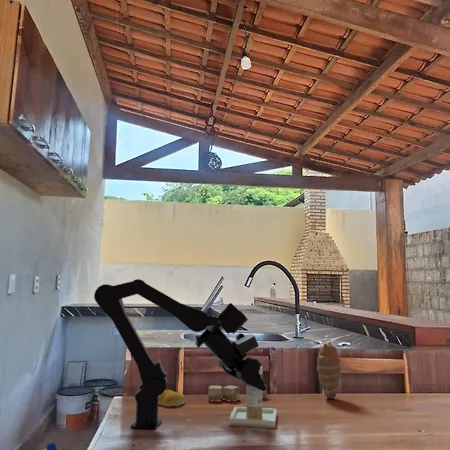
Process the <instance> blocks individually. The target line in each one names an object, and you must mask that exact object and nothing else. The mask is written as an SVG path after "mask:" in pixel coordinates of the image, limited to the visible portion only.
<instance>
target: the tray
mask: <svg viewBox="0 0 450 450" xmlns="http://www.w3.org/2000/svg"><path fill="white" fill-rule="evenodd" d="M277 414H278V413H277V408H271V407H270V408H269V407H262V416H263V417H262V419H248V418H247V417H246V415H247V406H234V408H233V410H232V412H231V414H230V416H229V419H228V426H236V427H238V426H239V427H254V428H267V429H268V428H270V429H271V428H272V429H276V427H277V426H276V425H277V417H278V416H277Z"/></svg>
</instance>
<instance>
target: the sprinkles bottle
mask: <svg viewBox="0 0 450 450" xmlns="http://www.w3.org/2000/svg"><path fill="white" fill-rule="evenodd" d="M263 370H264V369H263V366H261V368H260V369H259V374H260V376H261V378H262V379H263ZM245 386H246V387H245V390H246V391H245V392H246V394H245V399H246V400H245V401H246V403H245V404H246V407H247V415H246V417H247V418H248V419H262V417H263V416H262V408H263V398H262V390H260V389H258V388H255V387H253V386H251V385H249V384H246V385H245Z"/></svg>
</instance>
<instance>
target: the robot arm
mask: <svg viewBox="0 0 450 450" xmlns="http://www.w3.org/2000/svg"><path fill="white" fill-rule="evenodd" d="M137 295H138V296H140V297H142V298H143V299H145V300H147V301H148V302H151V303H152V304H154V305H156V306H157V307H159V308H161V309H162V310H165V311H167V312H168V313H169V314H172V315H173V316H175V318H176V319H178V320H179V321H180V322H181V323H182V324H183V325H185V326H186V327H187V328H188V329H189V330H190V331H192V332H194V333H201V332H202V333H201V334H200V335H197V334H196V335H195V343H194V344H195V345H196V347H197V348H200V347H201V346H202V345H203V344H204V345H205V347H206V348H207V349H209V351H210V352H211V353H212V354H213V356H214V357H215V359H217V360H219V361H218V367H219V368H220V369H221V371H223V372H225V373H226V374H228V375H229V376H232V377H235V378H237V379H238V380H241V382H242V383H244V384H246V385H247V384H249V385H251V386H253V387H255V388H258V389H260V390H262V391H265V390H266V389H267V388H268V387H267V388H266V386H265V385H266V384H265V382H264V380H263V377H262V378H261V376H260V374H259V369H260V368H261V367H262V363H261V362H260V361H259V360H258V359H257V358H255V357H252V356H248V354H247V353H248V352H250V351H251V350H254V349H256V348H259V343H258V340H257V338H256V336H255V335H254V334H250V333H249V334H243V333H242V332H239V333H238V334H236V333H237V331H239V330H240V329H241V327H243V326H244V324H246V323H247V321H248V318H247V316H246V315H245V314H244V313H243V312H242V311H241V310H239V309H238V308H237V307H236V306H235V305H234V304H233V303H231V302H230V303H228V304H227V305H226V306H225V308H224V309H223V310H222V311H221V312H220V313H219V314H217V316H215V315H214V314H213V315H209V314H206V312H204V310H201V309H199V308H196V307H193V306H190V305H187V304H184V303H182V302H179V301H178V300H176V299H174V298H172V297H171V296H169V295H167V294H165V293H164V292H162V291H160V290H158V289H156V288H155V287H153V286H151V285H149V284H148V283H146V281H144V280H143V279H139V278H137V279H134V280H132V281H128V282H124V283H120V284H115V285H113V284H108V283H107V284H102V285H99V286H98V287H97V288H96V290H95V292H94V294H93V299H94V301H95V302H96V304H97V305H98V306H99V308H101V310H102V311H103V312H104V313H105V314H106V315H107V316H108V318H110V319H111V321H112V322H113V324H114V326H115V328H116V330H117V332H118V333H119V335H120V337H121V339H122V341H123V342H124V344H125V346H126V348H127V349H128V352H129V353H130V355H131V357H132V358H133V360H134V362H135V363H136V366H137V369H138V373H139V376H140V381H141V383H142V384H141V385H140V386H139V387H138V389H137V391H136V392H135V395H134V398H135V402H136V404H135V421H134V422H133V423H132V424H130V429H131V428H132V429H142V430H143V429H144V430H145V429H146V430H156V429H157V428H158V426H159V425H161V423H163V420H162V419H159V404H158V401H159V399H158V396H159V395H161V394H162V393H163V392H164V391H165V390H167V383H168V370H166V369H165V367H164V366H163V364H162V360H161V359H158V360H157V361H155V360H154V359H153V358H152V356H151V354H150V353H149V352H148V350H147V348H146V346H145V344H144V342H143V341H142V339H141V337H140V335H139V333H138V332H137V330H136V328H135V327H134V325H133V323H132V321H131V320H130V318H129V316H128V314H127V311H126V308H125V304H124V301H123V299H125V298H128V297H132V296H137ZM211 326H212V327H211ZM207 327H211V328H207ZM220 328H222V329H223V331H224V332H225V333H226V334H227V335H230V334H232V335H235V334H236V335H235V336H236V337H235V341H232V340H230V339H229V338H228V337H227V336H226V334H225V333H224V332H223V331H222V330H221V329H220ZM247 356H248V357H247Z"/></svg>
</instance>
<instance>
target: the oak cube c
mask: <svg viewBox="0 0 450 450" xmlns="http://www.w3.org/2000/svg"><path fill="white" fill-rule="evenodd" d="M265 386H266V388H268V387H267V385H266V384H265ZM267 392H268V391H267V389H266V390H265V391H262V399H266V398H268V397H267V395H268V393H267Z"/></svg>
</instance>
